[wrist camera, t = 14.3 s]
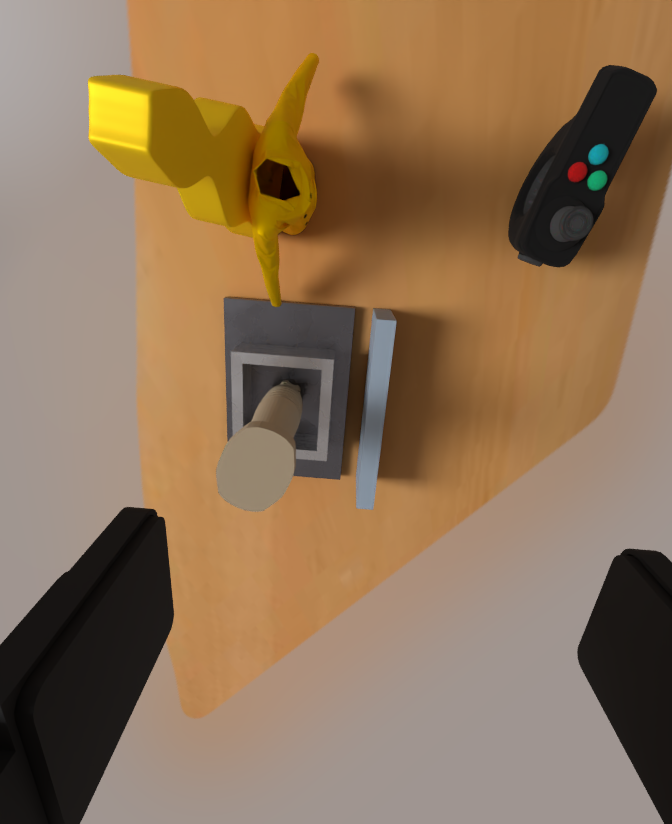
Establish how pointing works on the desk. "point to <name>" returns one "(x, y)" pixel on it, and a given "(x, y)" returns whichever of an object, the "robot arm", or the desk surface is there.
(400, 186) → the desk surface
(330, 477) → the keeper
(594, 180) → the controller
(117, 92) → the figure statuette
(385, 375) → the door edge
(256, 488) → the handle
